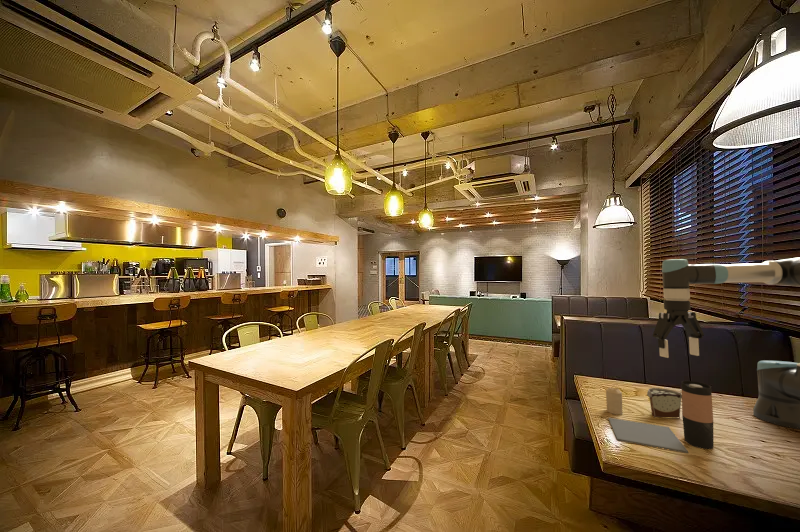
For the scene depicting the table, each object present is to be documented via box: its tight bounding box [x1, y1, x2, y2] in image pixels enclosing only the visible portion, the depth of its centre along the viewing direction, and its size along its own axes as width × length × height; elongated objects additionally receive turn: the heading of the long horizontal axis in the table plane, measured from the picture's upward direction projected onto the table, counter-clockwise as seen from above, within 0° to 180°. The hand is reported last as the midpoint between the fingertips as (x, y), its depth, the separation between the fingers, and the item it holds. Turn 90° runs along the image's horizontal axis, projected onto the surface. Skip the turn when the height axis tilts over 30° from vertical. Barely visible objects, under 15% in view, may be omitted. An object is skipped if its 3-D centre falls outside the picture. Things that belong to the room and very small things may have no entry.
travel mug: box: [680, 380, 714, 450], centre depth 105 cm, size 8×8×20 cm
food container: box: [646, 387, 682, 419], centre depth 128 cm, size 12×6×10 cm, turn 84°
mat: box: [607, 417, 689, 454], centre depth 112 cm, size 19×18×1 cm
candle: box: [605, 386, 623, 415], centre depth 131 cm, size 6×6×10 cm
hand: (679, 356), depth 117 cm, fingers open, 13 cm apart
